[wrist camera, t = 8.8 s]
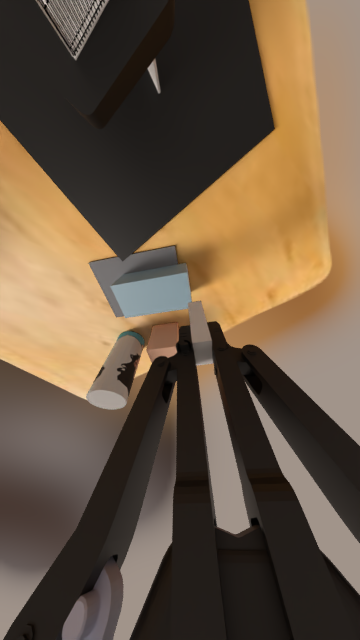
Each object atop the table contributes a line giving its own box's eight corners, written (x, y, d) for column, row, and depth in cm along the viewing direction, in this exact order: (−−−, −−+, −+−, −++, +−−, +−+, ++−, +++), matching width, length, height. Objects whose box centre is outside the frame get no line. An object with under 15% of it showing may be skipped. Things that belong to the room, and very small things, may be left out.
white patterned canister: (117, 347, 38) (87, 406, 26) (119, 328, 35) (84, 387, 22) (142, 352, 39) (124, 411, 27) (146, 334, 36) (127, 393, 23)
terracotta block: (159, 343, 37) (154, 369, 31) (153, 325, 34) (146, 350, 28) (181, 340, 37) (181, 366, 30) (177, 322, 34) (176, 346, 27)
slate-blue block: (190, 293, 29) (134, 302, 30) (186, 262, 25) (123, 274, 27) (192, 307, 24) (125, 317, 25) (187, 272, 20) (110, 286, 22)
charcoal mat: (116, 316, 33) (116, 317, 32) (89, 262, 26) (88, 262, 26) (185, 306, 31) (185, 307, 31) (174, 245, 24) (174, 245, 24)
